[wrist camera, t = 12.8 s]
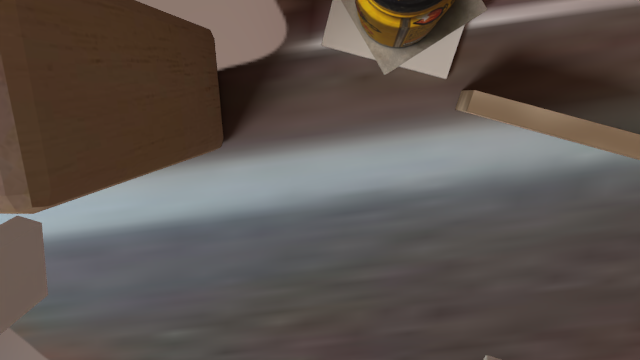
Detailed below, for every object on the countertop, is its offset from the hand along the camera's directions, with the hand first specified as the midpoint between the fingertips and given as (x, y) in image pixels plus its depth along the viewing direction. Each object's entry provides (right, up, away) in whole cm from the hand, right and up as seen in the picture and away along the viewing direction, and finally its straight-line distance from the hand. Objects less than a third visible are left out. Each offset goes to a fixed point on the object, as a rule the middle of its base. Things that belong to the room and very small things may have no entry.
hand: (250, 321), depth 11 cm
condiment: (+9, +18, +18) cm, 26 cm away
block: (-11, +12, +22) cm, 28 cm away
